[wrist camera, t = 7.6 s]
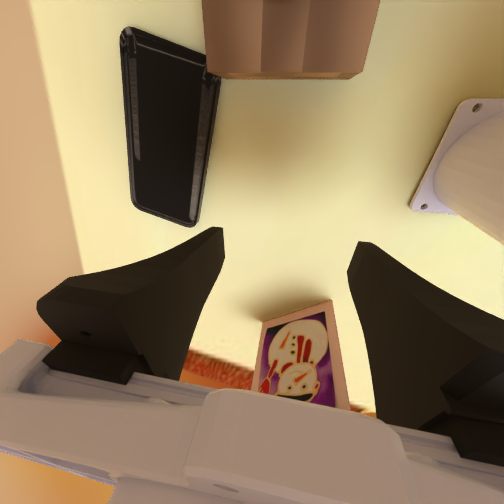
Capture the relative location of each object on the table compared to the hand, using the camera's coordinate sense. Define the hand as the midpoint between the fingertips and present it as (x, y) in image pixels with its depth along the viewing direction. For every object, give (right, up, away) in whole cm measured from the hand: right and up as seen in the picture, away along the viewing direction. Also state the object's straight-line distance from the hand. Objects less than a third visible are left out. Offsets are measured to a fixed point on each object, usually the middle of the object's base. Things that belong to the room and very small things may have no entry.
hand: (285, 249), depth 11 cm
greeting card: (+6, -11, +19) cm, 23 cm away
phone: (-10, +10, +9) cm, 17 cm away
